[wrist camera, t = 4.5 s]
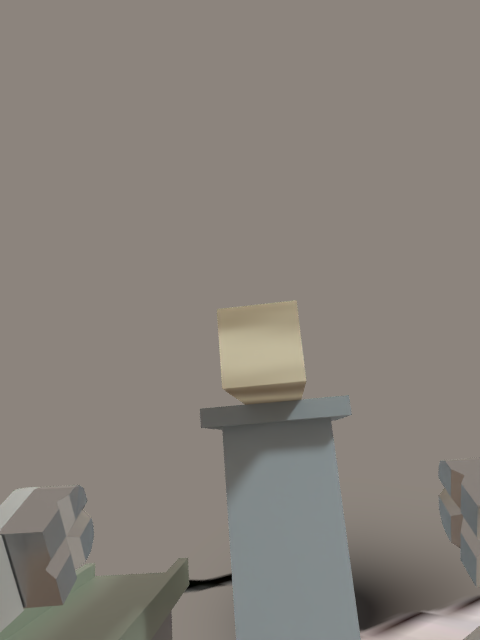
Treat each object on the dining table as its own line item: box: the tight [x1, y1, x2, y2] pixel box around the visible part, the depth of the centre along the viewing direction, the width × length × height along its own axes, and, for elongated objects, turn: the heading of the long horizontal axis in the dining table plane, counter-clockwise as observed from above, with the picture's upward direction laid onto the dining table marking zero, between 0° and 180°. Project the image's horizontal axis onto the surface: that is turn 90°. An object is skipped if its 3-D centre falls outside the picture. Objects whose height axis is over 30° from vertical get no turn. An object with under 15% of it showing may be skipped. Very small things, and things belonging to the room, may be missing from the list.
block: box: [217, 301, 306, 405], centre depth 26 cm, size 22×3×3 cm, turn 173°
